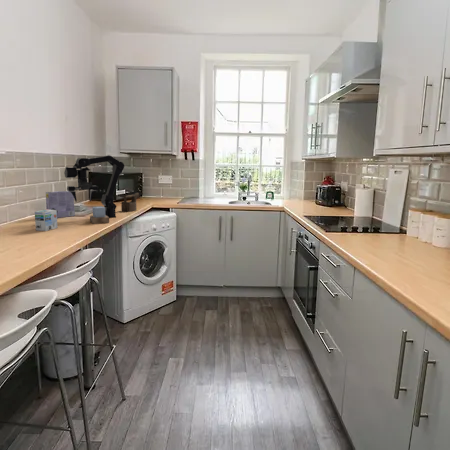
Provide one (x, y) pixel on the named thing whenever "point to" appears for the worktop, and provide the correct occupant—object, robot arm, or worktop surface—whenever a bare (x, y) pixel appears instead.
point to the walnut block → (99, 219)
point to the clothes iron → (129, 203)
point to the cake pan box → (61, 203)
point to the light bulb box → (46, 220)
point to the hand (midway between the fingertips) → (83, 201)
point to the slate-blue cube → (98, 211)
